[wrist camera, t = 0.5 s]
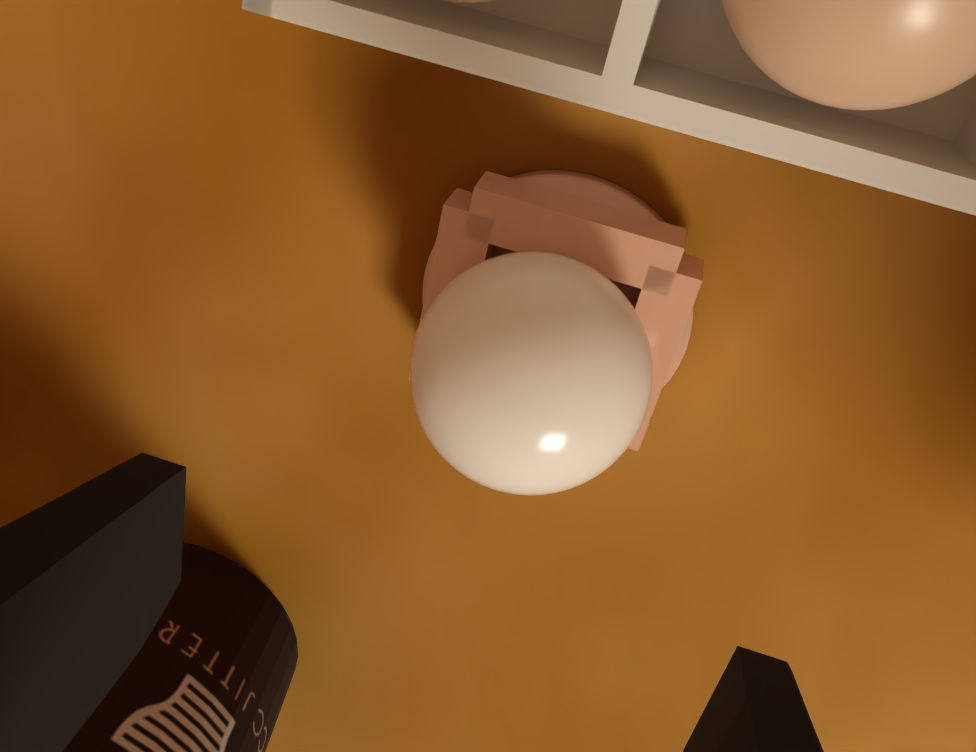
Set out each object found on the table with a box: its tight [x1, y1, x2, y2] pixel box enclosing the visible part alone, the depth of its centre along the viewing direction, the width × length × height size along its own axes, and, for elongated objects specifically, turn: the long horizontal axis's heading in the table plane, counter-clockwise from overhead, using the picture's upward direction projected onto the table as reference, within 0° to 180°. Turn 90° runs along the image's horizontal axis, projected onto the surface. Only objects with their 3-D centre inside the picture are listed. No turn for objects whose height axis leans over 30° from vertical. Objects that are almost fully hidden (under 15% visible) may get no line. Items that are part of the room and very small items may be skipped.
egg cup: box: [408, 170, 704, 451], centre depth 19 cm, size 6×6×2 cm
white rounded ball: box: [409, 251, 653, 495], centre depth 17 cm, size 4×4×4 cm
